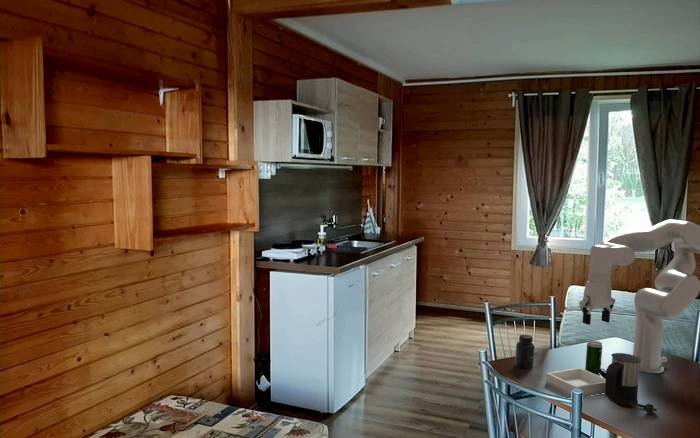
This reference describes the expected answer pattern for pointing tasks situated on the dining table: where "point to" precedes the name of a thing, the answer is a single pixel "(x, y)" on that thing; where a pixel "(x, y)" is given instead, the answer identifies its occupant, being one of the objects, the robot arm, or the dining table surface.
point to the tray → (576, 381)
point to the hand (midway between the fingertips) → (595, 322)
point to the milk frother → (624, 380)
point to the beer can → (593, 357)
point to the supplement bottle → (524, 352)
